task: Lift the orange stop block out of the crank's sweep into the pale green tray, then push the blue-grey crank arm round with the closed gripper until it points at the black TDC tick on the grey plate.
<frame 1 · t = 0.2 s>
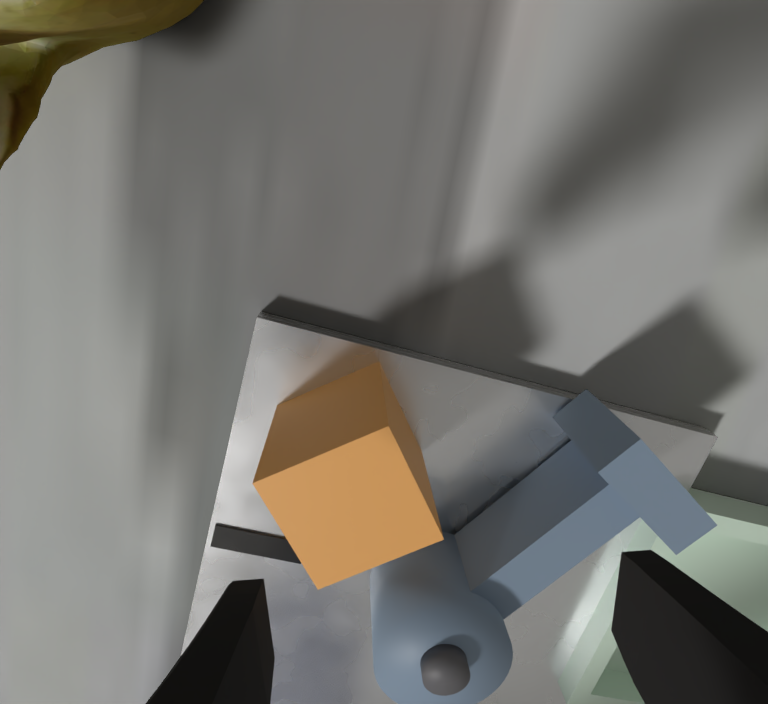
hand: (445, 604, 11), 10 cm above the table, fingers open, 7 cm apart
plate: (424, 563, 22), on the table
crank: (513, 564, 19), point 3 cm above the table, hinge at -30.0°
tray: (700, 599, 24), on the table
block: (351, 429, 19), point 1 cm above the table, touching plate
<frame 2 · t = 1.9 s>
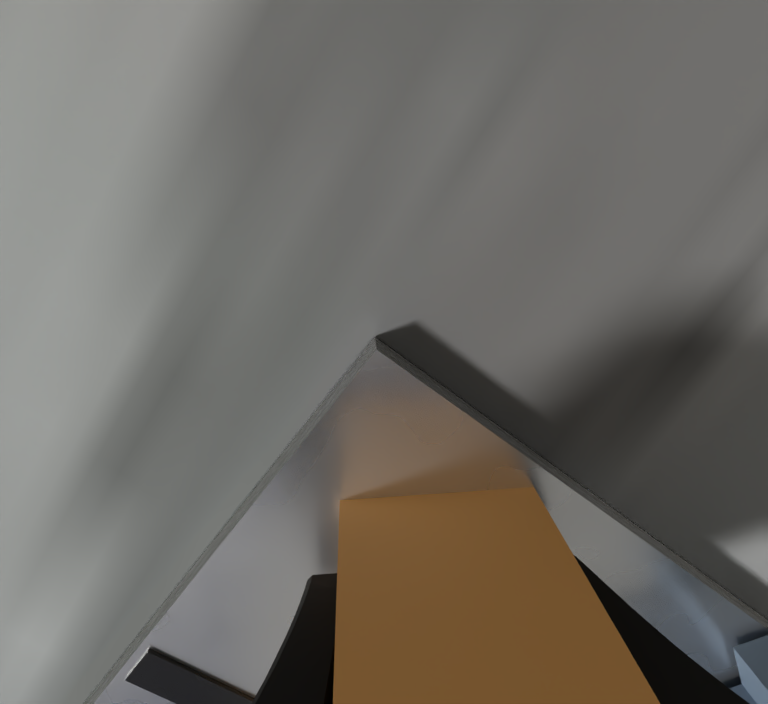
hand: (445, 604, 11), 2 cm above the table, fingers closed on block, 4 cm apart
block: (438, 572, 11), point 1 cm above the table, touching gripper, plate
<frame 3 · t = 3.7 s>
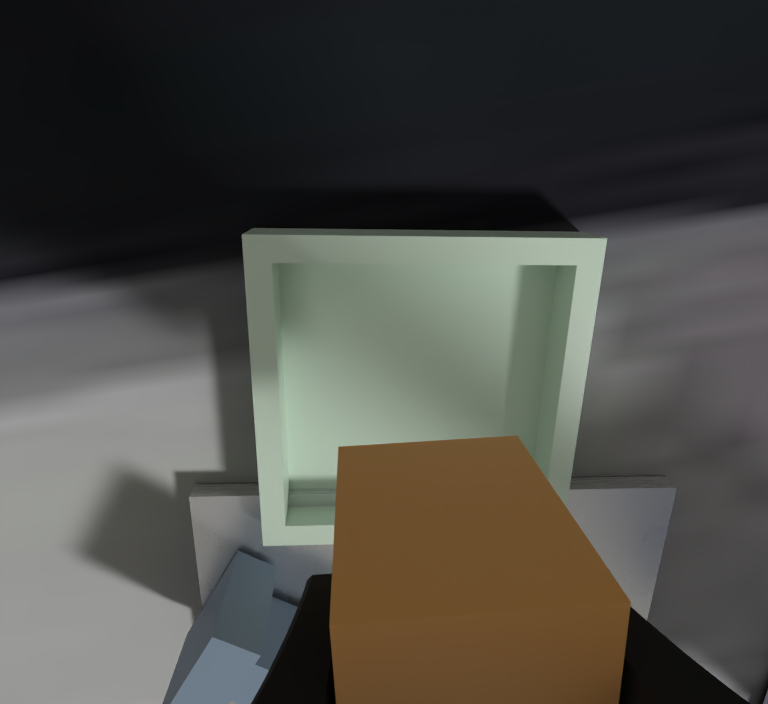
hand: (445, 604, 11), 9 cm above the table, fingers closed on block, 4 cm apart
plate: (426, 659, 23), on the table
crank: (352, 701, 19), point 3 cm above the table, hinge at -30.0°
tray: (414, 382, 19), on the table
block: (429, 518, 12), point 7 cm above the table, touching gripper
when the fingers open (3 cm above the table, at t = 5.3 s): block stays where it is, resting on tray.
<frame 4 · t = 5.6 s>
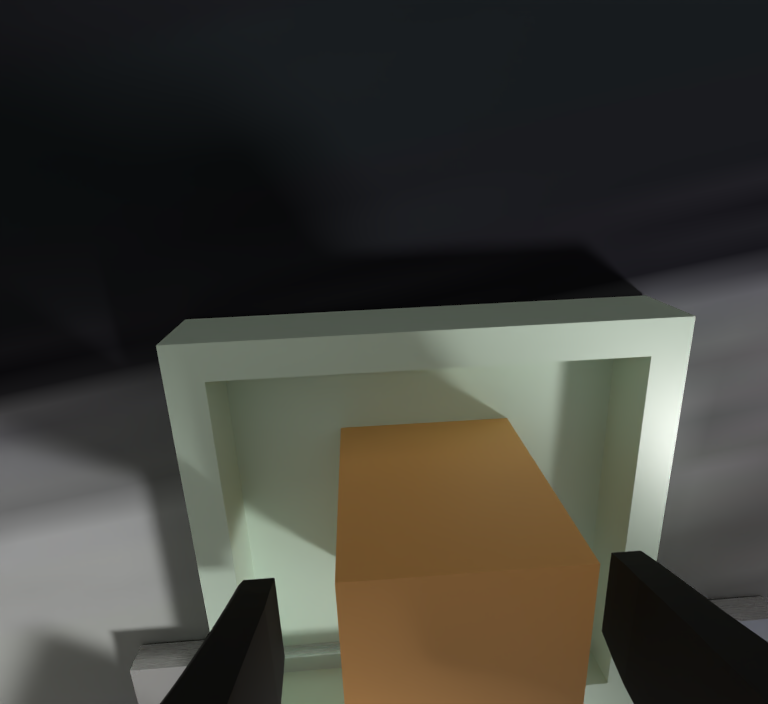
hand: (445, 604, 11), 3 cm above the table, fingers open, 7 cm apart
tray: (423, 503, 14), on the table
block: (425, 494, 13), resting on tray
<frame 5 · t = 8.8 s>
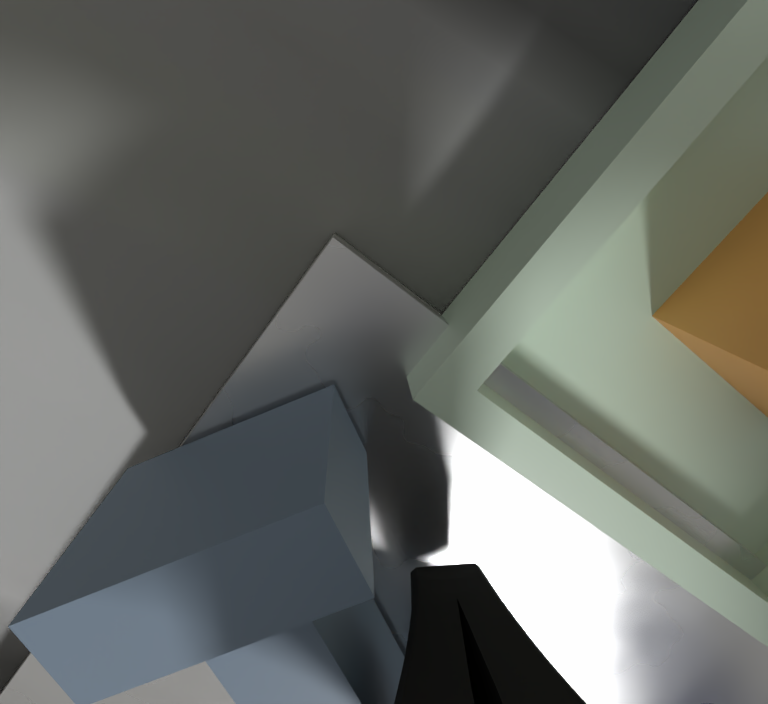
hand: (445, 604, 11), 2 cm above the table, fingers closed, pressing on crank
tray: (753, 312, 11), on the table
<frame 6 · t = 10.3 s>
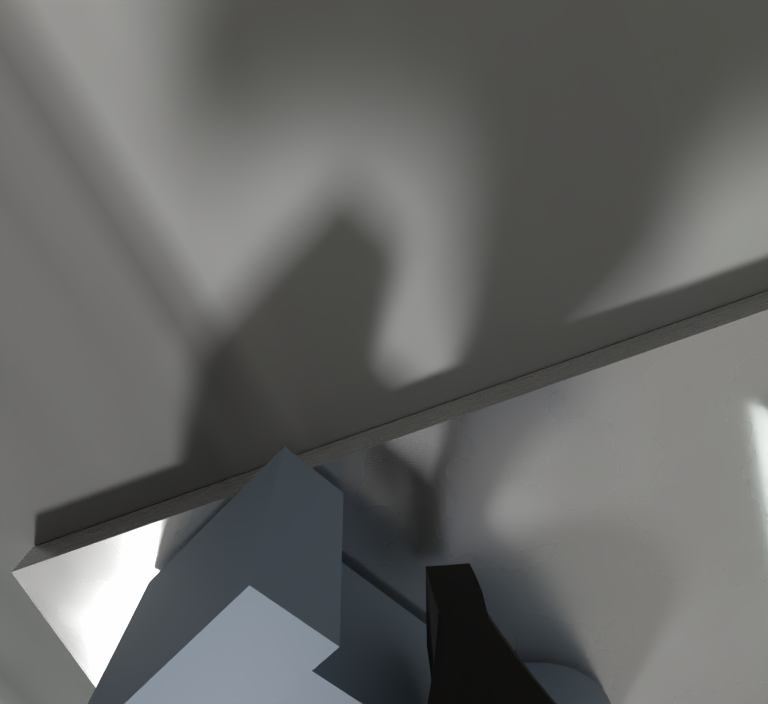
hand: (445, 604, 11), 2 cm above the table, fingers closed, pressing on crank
plate: (510, 698, 14), on the table
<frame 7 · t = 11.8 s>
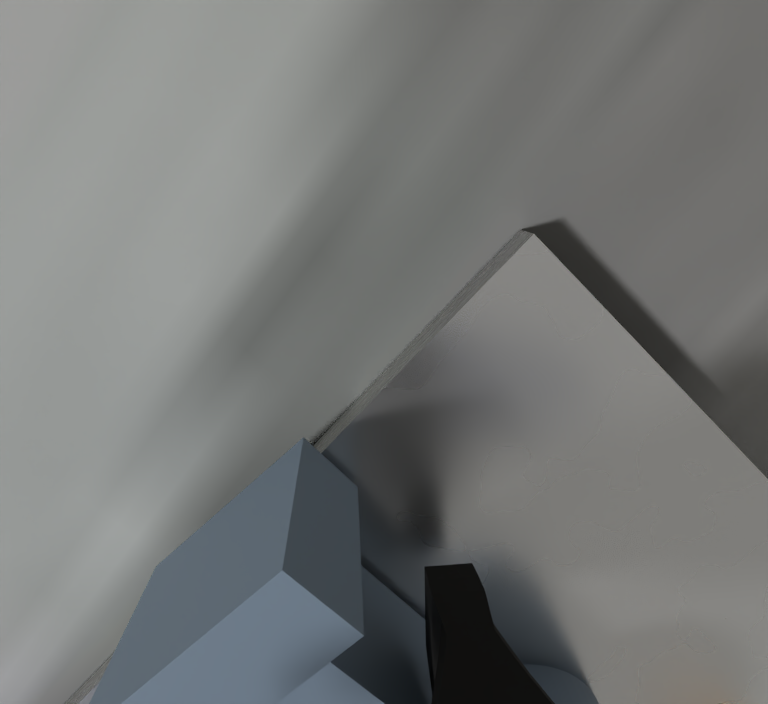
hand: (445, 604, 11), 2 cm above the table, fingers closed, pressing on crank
plate: (500, 699, 15), on the table
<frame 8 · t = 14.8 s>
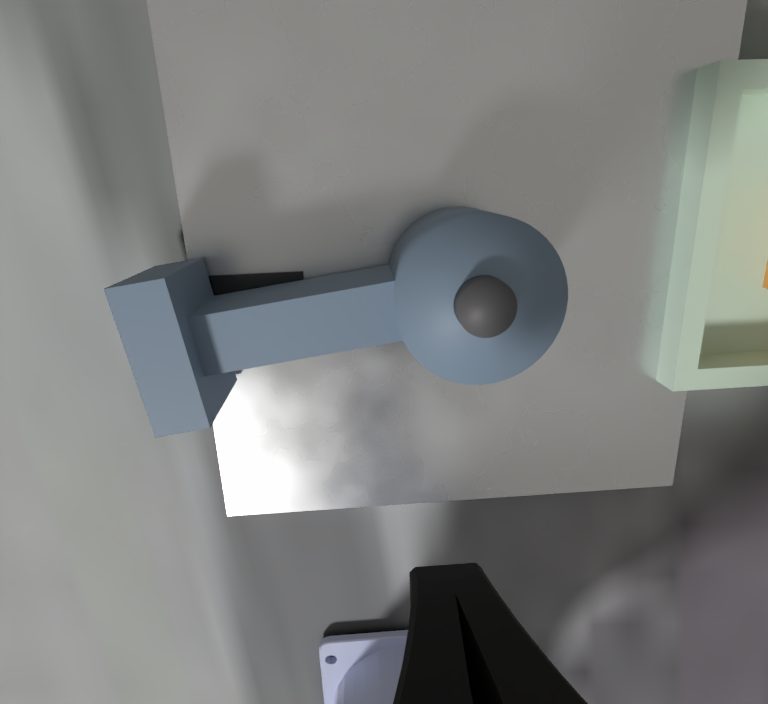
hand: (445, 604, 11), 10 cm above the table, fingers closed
plate: (450, 273, 19), on the table
crank: (349, 313, 16), point 3 cm above the table, hinge at 97.4°
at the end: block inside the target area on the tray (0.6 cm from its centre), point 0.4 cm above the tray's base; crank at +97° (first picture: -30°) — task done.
